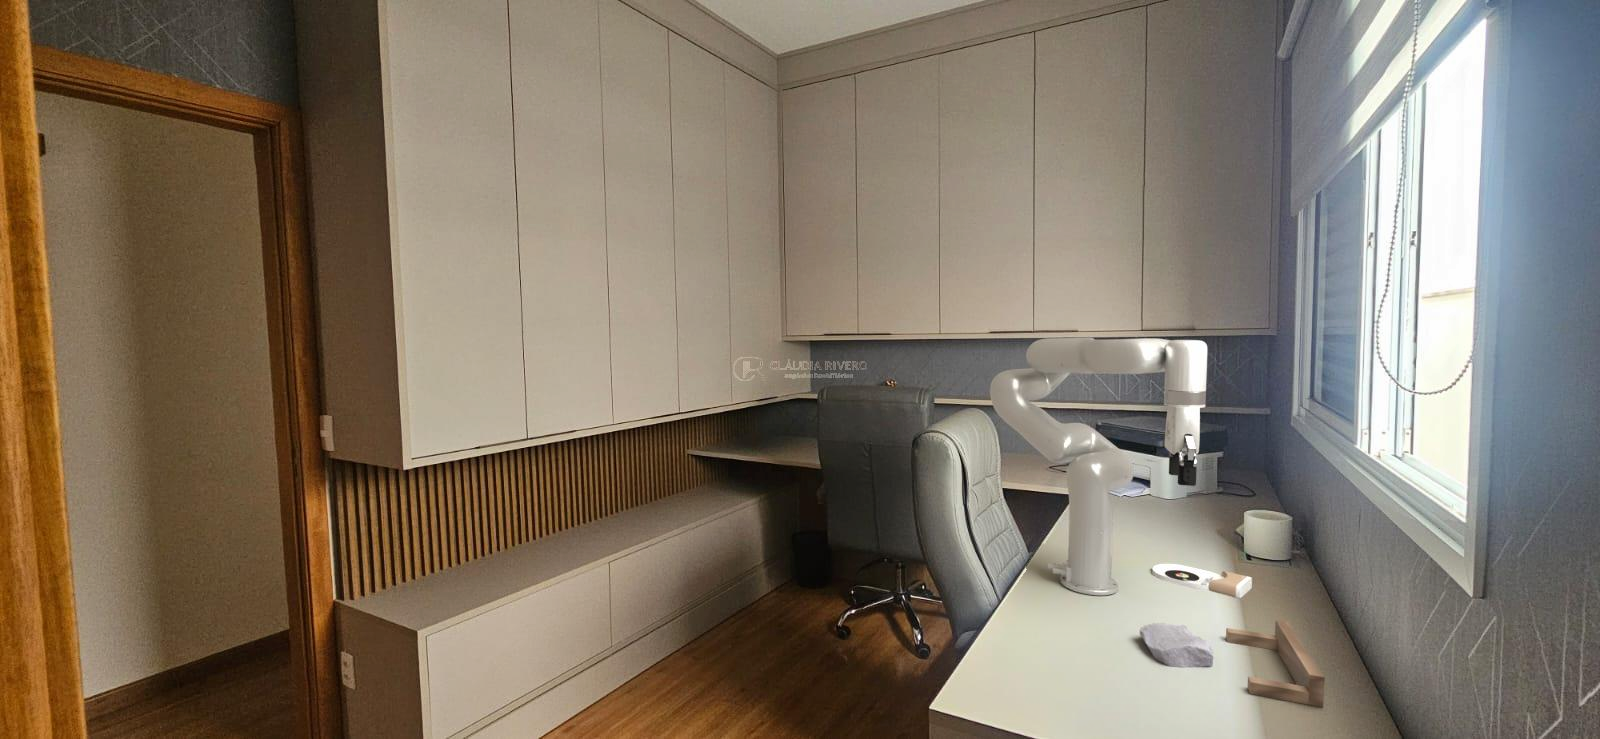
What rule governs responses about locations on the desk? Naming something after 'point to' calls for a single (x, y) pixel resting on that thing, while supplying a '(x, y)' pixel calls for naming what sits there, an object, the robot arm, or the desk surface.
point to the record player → (1204, 579)
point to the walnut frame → (1294, 659)
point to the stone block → (1177, 646)
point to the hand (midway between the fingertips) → (1181, 479)
